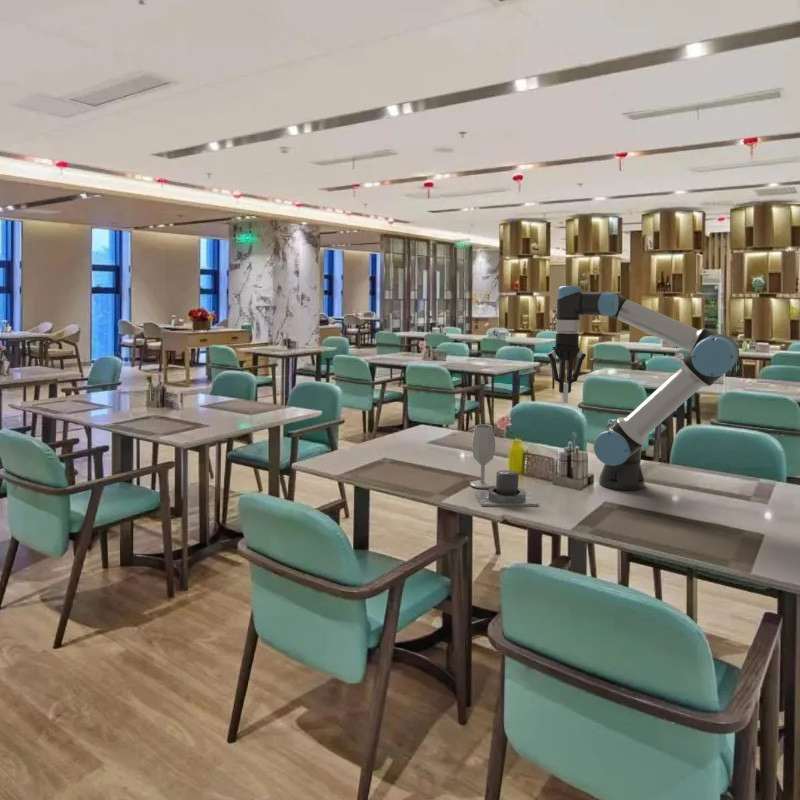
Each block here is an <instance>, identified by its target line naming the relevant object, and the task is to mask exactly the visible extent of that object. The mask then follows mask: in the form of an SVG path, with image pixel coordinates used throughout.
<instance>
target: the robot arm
mask: <svg viewBox="0 0 800 800" xmlns="http://www.w3.org/2000/svg"><path fill="white" fill-rule="evenodd" d="M581 316H602V317H610V318H613V319H615V320H618V321H620V322H622V323H624V324H625V325H626V324H627V325H629V326H631V327H633V328H635V329H638V330H640V331H641V332H645V333H646V334H649V335H650V336H653V337H655V338H658V339H659V340H662V341H665V342H666V343H669V344H671V345H673V346H675V347H677V348H680V349H683V350H684V351H686V352H688V354H686V355H685V356H684V357H683V358H682V359H681V366H680V367H679V368H678V369H677V370H676V371H675V372H674V373H673V374H671V376H670V377H668V379H666V380H665V381H664V382H663V383H661V385H659V387H657V389H655V391H653V392H652V393H651V394H650V395H649V396H648V397H647V398H646V399H644V400H643V401H642V402H641V403H640V404H639V405H638V406H637V407H635V409H633V411H630V413H629V414H628V415H627V416H625V417H621V416H619V417H618V418H610V419H608V421H607V424H606V427H607V428H605V429H604V430H603V431H601V432H599V433H598V434H597V436H596V437H595V440H594V443H593V452H594V454H595V456H596V458H597V459H598V460H599V461H600V462H601V463H602V464H604V465H603V467H602V470H601V471H600V475H599V478H598V481H599V483H598V484H599V485H600V486H602V487H605V488H607V489H612V490H617V491H637V490H642V489H644V488H645V476H644V473H643V470H642V466H641V461H642V460H641V458H642V447H643V446H644V445H645V443H646V437H647V436H648V435H650V433H651V432H652V431H654V430H655V429H656V428H657V427H658V426H659V425H661V424H662V423H663V422H664V421H665V420H666V419H667V418H668V417H670V415H671V414H673V413H674V412H675V411H676V410H677V409H678V408H680V407H681V406H682V405H683V404H684V403H685V402H686V401H688V399H690V398H691V397H692V396H693V395H694V394H695V393H696V392H698V390H700V389H701V388H702V387H711V386H712V385H713V384H714V383H716V382H717V381H718V380H719V379H720V378H721V377H722V376H723V375H725V374H727V373H728V372H730V371H731V369H732V368H733V367H734V366H735V365H736V363H738V360H739V357H740V350H739V346H738V344H737V342H736V341H735V340H734V339H733V338H732V337H729V336H728V335H724V334H721V333H717V332H714V331H711V330H709V329H707V328H704V327H703V328H700V329H698V328H695V327H694V326H690V325H689V324H686V323H684V322H682V321H679V320H678V319H674V318H672V317H671V316H667V315H665V314H663V313H660V312H658V311H655V310H654V309H651V308H649V307H647V306H644V305H641V304H639V303H637V302H634V301H632V300H630V299H628V298H625V297H622V296H621V295H620V294H618V293H616V292H614V291H604V292H603V291H594V292H593V291H592V292H591V291H590V292H589V291H586V292H585V291H582V287H581V286H579V285H562V286H559V287H558V290H557V298H556V323H555V325H556V328H555V331H556V334H555V346H554V348H553V350H552V351H550V352H547V354H546V356H547V358H548V360H549V361H550V368H551V372H552V377H553V381H554V382H557V383H558V392H559V393H560V394H561V395H560V396H561V397H560V398H561V399H560V400H561V401H560V402H561V403H562V404H568V399H569V394H570V393H571V391H572V384H573V383H574V382H578V379H579V375H580V372H581V368H582V364H583V362H584V360H585V358H586V356H587V354H586V353H583V352H582V351H581V350H580V346H579V341H580V340H579V339H580V337H579V336H580V335H579V333H578V332H580V319H581V318H580V317H581ZM556 356H557V358H558V359H559V360H558V361H559V366H558V367H559V368H558V367H557V363H556V359H555V358H556ZM576 357H577V359H576V362H575V366H574V365H573V363H574V359H575V358H576ZM573 366H574V369H573ZM558 369H559V370H558ZM565 369H566V375H565ZM565 376H566V379H565ZM565 380H566V382H565Z"/></svg>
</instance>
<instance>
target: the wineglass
mask: <svg viewBox="0 0 800 800" xmlns="http://www.w3.org/2000/svg"><path fill="white" fill-rule="evenodd" d="M471 452H472V455H473V459H474V460H475V461H476V462H477V463H478V464H480V480H472V481H469V483H470V487H473V488H474V489H475V488H476V489H484V490H485V489H487V490H488V489H490V488H492V487H496V484H495V482H494V481H490V480H485V475H486V474H485V472H486V470H485V469H486V465H488V464H489V463H490V462H491V461H492V460H493V459H494V456H495V453H496V437H495V431H494V428H493V426H492V425H490V424H475V427H474V429H473V434H472V439H471Z"/></svg>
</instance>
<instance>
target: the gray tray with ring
mask: <svg viewBox="0 0 800 800" xmlns="http://www.w3.org/2000/svg"><path fill="white" fill-rule="evenodd" d="M475 496H476V498H477V500H478V502H479V504H480V506H481V507H539V502H538V500H537V499H536V498H535V497H534V496H533V495H532V493H531V492H530V491H528V492H526V491H525V490H524V489H522V488H520V487H518V494H515V495H503V494H497V493H496V486H495V487H492V488H488V489H487V491H486V492H485V491H483V492H482V491H481V492H478V491H477V492H475Z"/></svg>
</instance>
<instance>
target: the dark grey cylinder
mask: <svg viewBox="0 0 800 800" xmlns="http://www.w3.org/2000/svg"><path fill="white" fill-rule="evenodd" d="M519 475H520V474H519V473H518V472H517V471H514V470H509V469H502V470H499V471H496V478H495V479H496V480H495V487H496V493H497V494H503V495H515V494H518V488H519Z"/></svg>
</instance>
